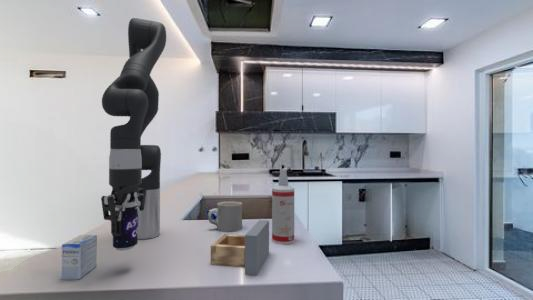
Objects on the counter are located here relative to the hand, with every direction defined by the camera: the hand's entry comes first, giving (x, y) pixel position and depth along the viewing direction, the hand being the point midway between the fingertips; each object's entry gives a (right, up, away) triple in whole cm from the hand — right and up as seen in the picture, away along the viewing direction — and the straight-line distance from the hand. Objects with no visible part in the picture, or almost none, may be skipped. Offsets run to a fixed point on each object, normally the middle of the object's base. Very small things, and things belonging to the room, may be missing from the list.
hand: (125, 231), depth 74 cm
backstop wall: (+34, -10, +5) cm, 36 cm away
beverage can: (0, -4, 0) cm, 4 cm away
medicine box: (-11, -10, -1) cm, 15 cm away
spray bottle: (+42, -11, +25) cm, 50 cm away
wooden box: (+28, -10, +8) cm, 31 cm away
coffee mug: (+20, -11, +41) cm, 47 cm away
